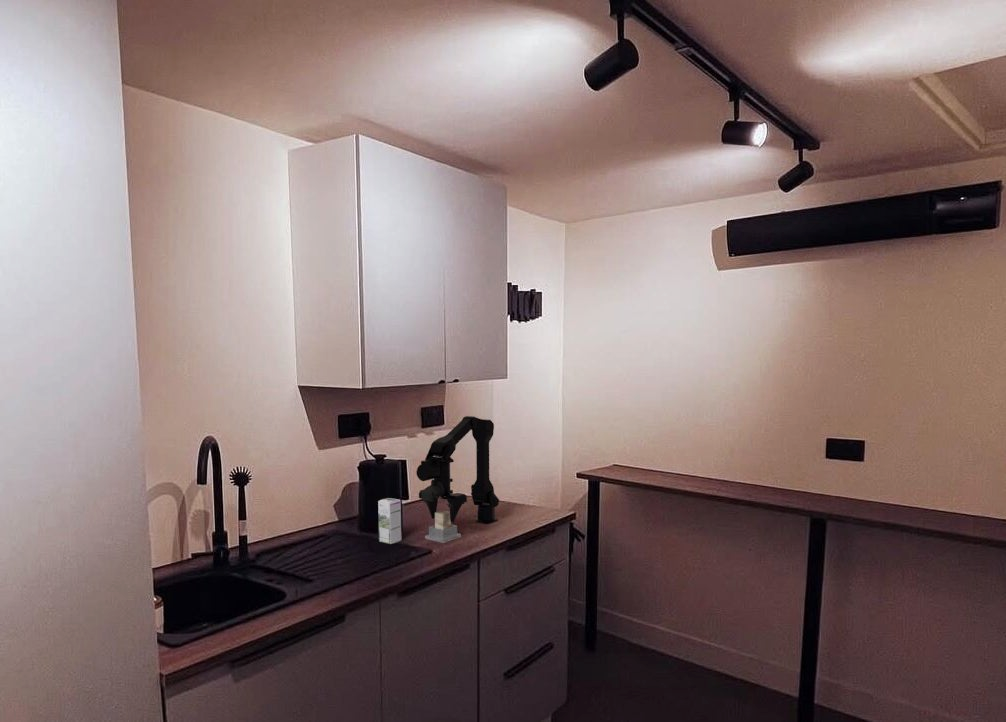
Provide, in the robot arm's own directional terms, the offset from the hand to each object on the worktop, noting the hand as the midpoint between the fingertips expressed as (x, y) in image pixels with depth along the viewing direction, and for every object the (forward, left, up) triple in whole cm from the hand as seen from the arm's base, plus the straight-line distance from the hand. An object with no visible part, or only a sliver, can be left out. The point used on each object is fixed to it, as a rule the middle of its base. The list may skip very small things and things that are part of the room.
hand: (442, 520), depth 215 cm
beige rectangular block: (0, 0, -5) cm, 5 cm away
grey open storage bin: (0, 0, -6) cm, 6 cm away
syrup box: (+14, -12, -6) cm, 19 cm away
